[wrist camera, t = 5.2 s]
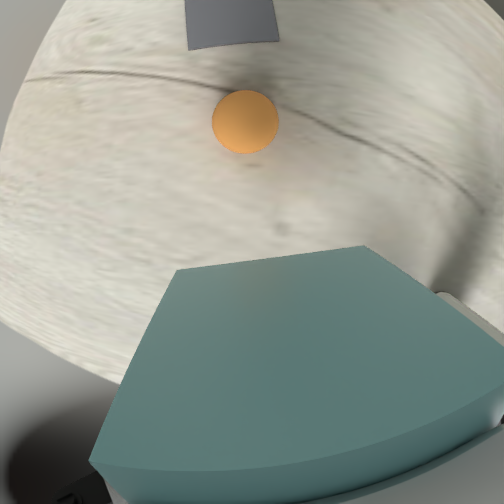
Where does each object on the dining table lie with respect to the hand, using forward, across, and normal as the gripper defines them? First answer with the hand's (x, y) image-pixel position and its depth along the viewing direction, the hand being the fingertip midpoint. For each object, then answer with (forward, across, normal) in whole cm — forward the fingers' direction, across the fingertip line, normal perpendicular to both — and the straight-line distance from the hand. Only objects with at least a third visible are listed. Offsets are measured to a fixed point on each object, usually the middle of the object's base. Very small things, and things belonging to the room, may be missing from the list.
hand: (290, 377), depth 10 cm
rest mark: (+17, 0, -23) cm, 28 cm away
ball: (+14, 0, -11) cm, 18 cm away
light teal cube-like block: (+3, 0, 0) cm, 3 cm away
